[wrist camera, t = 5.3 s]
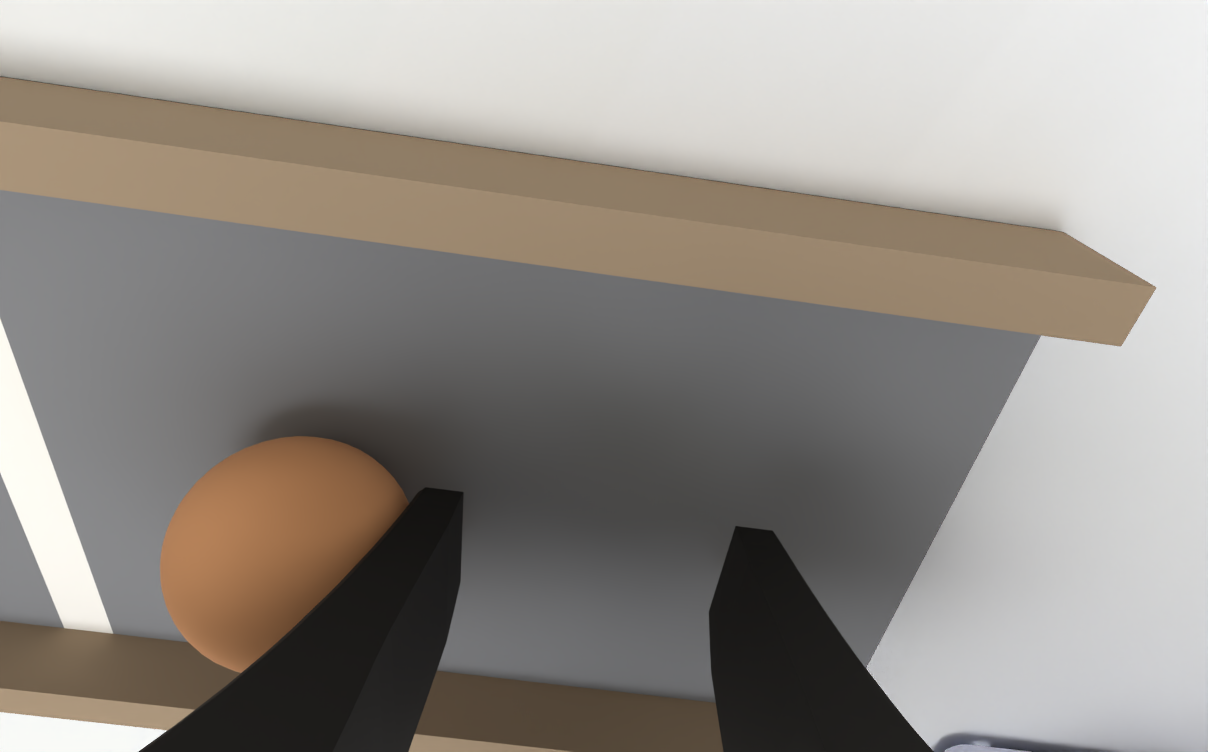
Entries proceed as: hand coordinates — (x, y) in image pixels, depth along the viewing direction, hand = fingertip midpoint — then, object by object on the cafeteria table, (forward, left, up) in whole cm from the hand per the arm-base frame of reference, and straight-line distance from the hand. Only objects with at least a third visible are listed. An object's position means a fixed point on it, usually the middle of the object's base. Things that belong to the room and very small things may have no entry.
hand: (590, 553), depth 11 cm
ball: (+3, 0, 0) cm, 3 cm away
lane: (+7, 0, -2) cm, 7 cm away
